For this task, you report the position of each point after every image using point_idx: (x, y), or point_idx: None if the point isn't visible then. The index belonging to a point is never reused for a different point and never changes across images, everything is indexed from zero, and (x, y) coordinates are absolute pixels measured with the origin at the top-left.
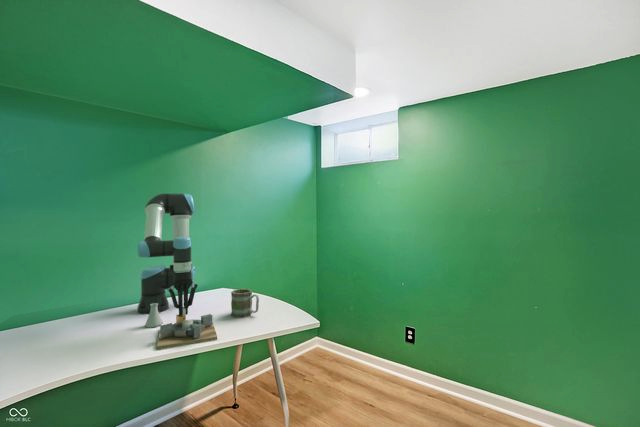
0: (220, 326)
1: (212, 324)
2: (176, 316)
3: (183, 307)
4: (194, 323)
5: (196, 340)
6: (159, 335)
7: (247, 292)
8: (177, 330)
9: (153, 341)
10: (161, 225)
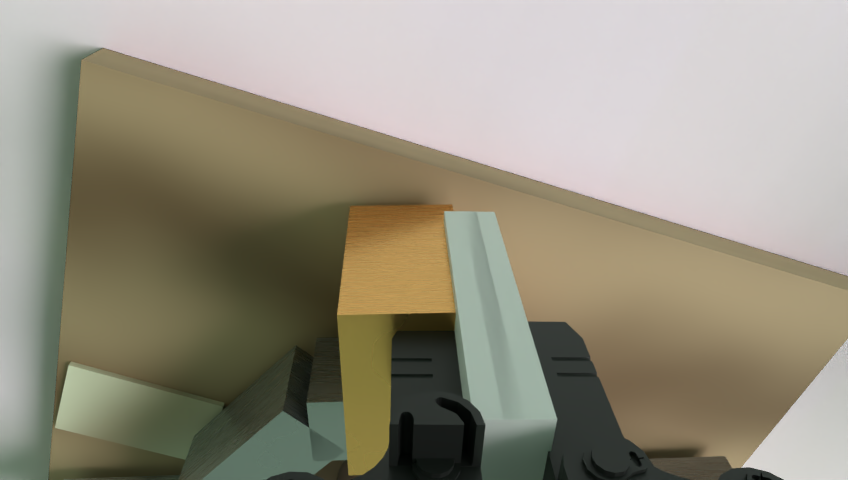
0: (794, 455)
1: (743, 451)
2: (339, 307)
3: (533, 451)
4: None
5: None
6: (59, 411)
7: None
8: None
9: (7, 410)
10: None
